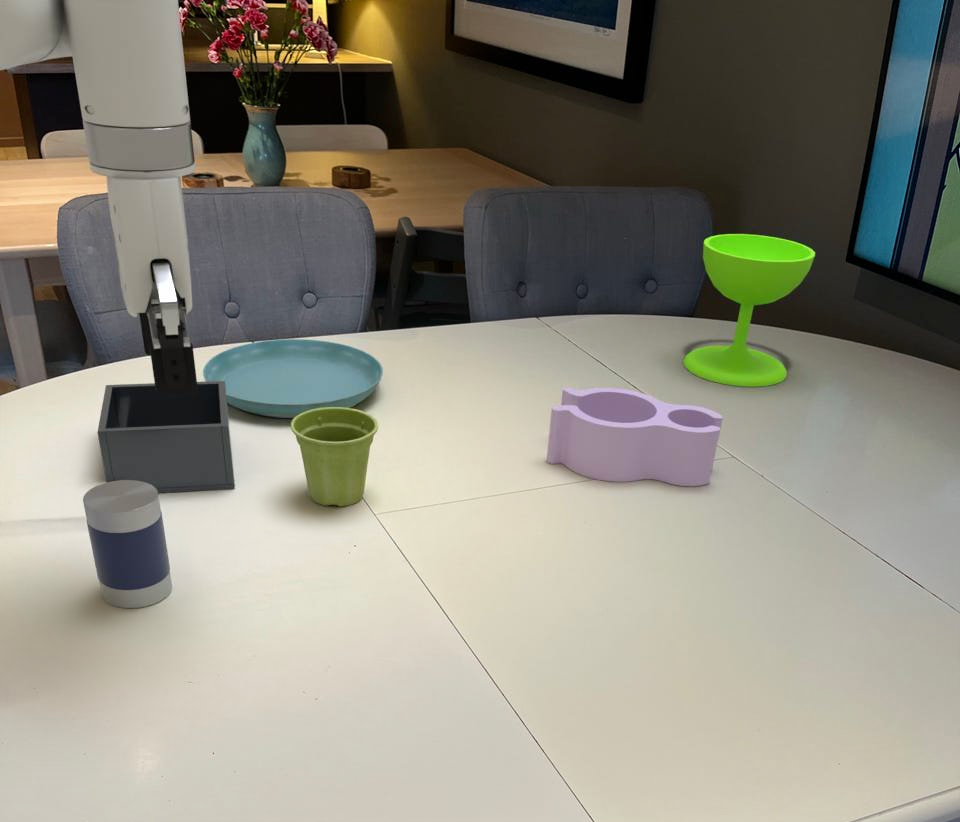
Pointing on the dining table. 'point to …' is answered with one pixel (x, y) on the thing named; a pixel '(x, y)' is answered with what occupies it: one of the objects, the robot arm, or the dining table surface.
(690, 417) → the clip
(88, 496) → the tin can
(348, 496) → the plant pot
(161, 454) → the open box
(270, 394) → the teal plate
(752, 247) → the wineglass
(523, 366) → the dining table surface
